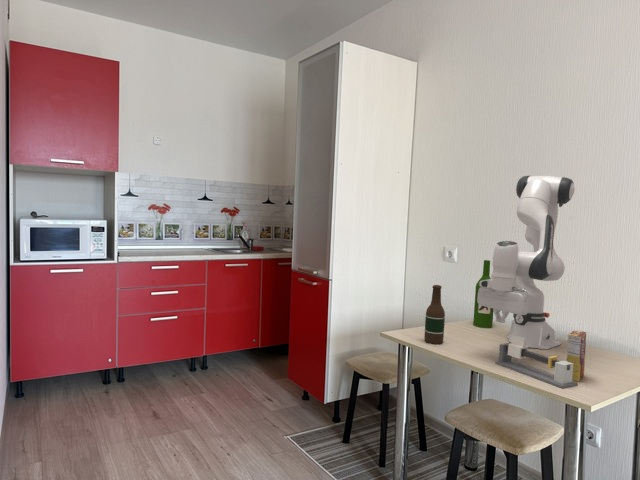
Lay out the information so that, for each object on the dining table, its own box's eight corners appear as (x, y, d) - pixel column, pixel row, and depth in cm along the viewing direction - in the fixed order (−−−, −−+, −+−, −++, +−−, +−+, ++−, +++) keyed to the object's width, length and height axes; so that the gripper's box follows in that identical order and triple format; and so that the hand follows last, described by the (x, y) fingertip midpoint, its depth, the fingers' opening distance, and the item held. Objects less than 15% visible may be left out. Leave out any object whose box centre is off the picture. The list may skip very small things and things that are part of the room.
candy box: (570, 372, 161) (573, 329, 160) (584, 375, 158) (587, 332, 157) (564, 378, 154) (567, 334, 153) (578, 382, 151) (582, 336, 150)
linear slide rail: (509, 360, 171) (511, 340, 171) (577, 385, 148) (579, 361, 148) (495, 363, 167) (496, 342, 167) (562, 388, 144) (564, 364, 144)
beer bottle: (443, 345, 188) (447, 287, 186) (424, 343, 189) (427, 285, 188) (442, 340, 195) (446, 284, 194) (423, 338, 197) (427, 283, 196)
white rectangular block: (515, 353, 167) (516, 334, 166) (527, 357, 162) (528, 338, 162) (507, 354, 165) (508, 335, 164) (519, 358, 161) (521, 339, 160)
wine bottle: (474, 327, 223) (479, 260, 221) (471, 323, 232) (476, 259, 230) (494, 328, 221) (498, 261, 219) (490, 324, 230) (494, 260, 228)
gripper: (534, 289, 162) (530, 328, 162) (487, 281, 179) (484, 316, 180) (522, 289, 159) (518, 329, 159) (476, 281, 176) (473, 316, 177)
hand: (500, 322), depth 170 cm, fingers closed
